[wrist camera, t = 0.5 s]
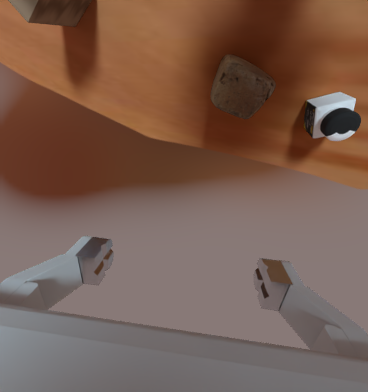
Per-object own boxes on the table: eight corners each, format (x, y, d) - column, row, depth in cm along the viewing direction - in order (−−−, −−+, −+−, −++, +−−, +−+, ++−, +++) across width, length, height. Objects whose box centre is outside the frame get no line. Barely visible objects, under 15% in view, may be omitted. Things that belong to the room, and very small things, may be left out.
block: (210, 84, 47) (204, 105, 32) (225, 49, 42) (226, 54, 27) (249, 103, 48) (260, 132, 33) (267, 70, 43) (291, 87, 28)
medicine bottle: (305, 99, 46) (325, 114, 37) (340, 91, 44) (371, 104, 34) (303, 128, 50) (320, 148, 41) (335, 121, 48) (361, 140, 38)
